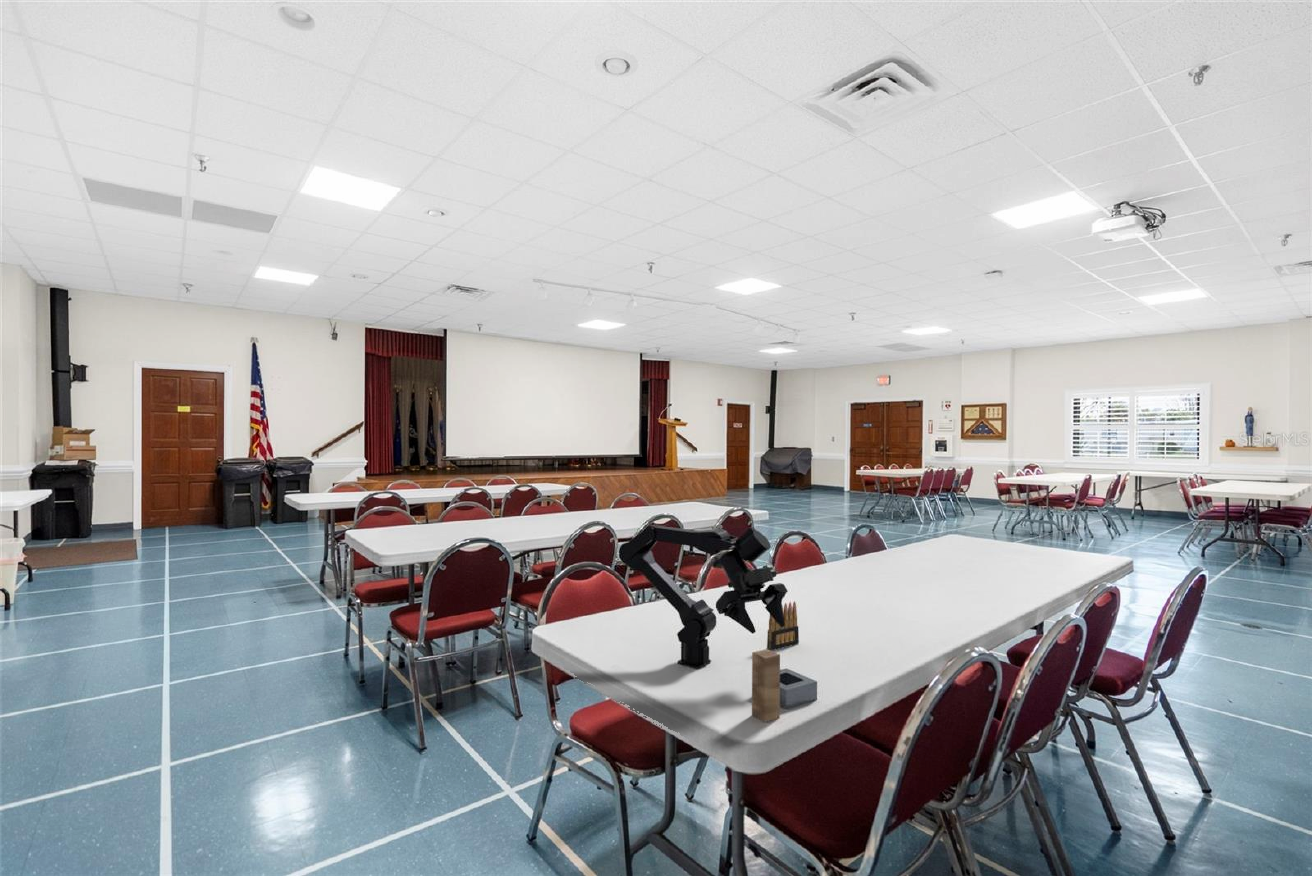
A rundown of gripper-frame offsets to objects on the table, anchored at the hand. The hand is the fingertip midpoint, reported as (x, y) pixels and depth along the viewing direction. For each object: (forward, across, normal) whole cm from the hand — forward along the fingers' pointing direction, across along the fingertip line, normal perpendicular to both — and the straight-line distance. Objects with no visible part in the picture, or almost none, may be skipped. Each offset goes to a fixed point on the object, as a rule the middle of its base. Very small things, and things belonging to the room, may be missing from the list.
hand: (769, 629), depth 142 cm
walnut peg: (+17, -11, +2) cm, 20 cm away
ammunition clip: (-5, +25, +24) cm, 35 cm away
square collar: (+14, 0, +6) cm, 15 cm away
